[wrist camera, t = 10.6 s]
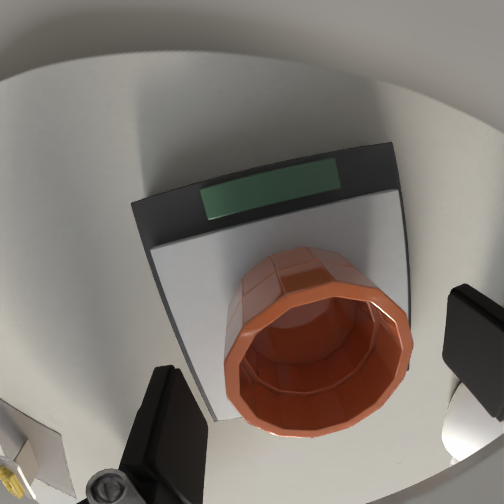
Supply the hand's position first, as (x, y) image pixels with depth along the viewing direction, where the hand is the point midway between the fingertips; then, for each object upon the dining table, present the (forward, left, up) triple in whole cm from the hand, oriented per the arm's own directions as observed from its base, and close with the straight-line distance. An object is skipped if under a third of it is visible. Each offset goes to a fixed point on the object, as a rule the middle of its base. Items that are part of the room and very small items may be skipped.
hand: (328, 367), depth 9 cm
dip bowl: (+1, 0, -5) cm, 5 cm away
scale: (+1, 0, -8) cm, 8 cm away
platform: (+16, -34, -9) cm, 38 cm away
